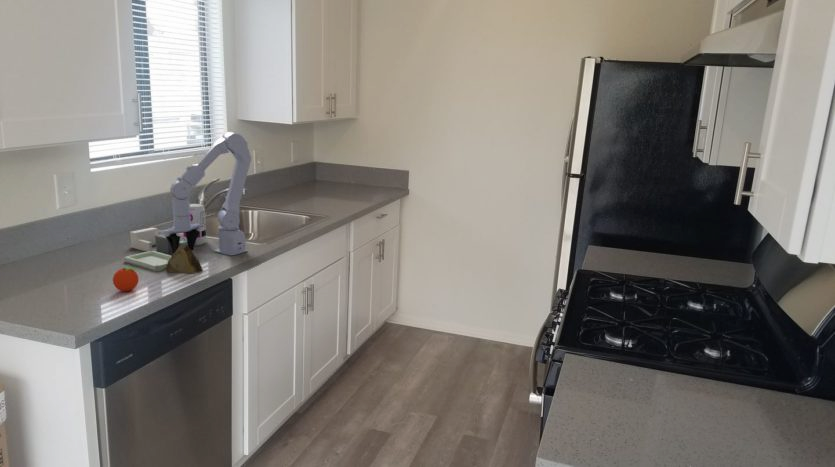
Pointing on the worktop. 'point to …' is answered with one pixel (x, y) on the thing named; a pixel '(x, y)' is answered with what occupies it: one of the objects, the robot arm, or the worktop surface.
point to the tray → (149, 260)
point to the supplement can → (198, 217)
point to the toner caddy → (165, 244)
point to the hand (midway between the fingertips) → (183, 251)
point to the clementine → (125, 279)
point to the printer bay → (144, 239)
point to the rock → (183, 261)
